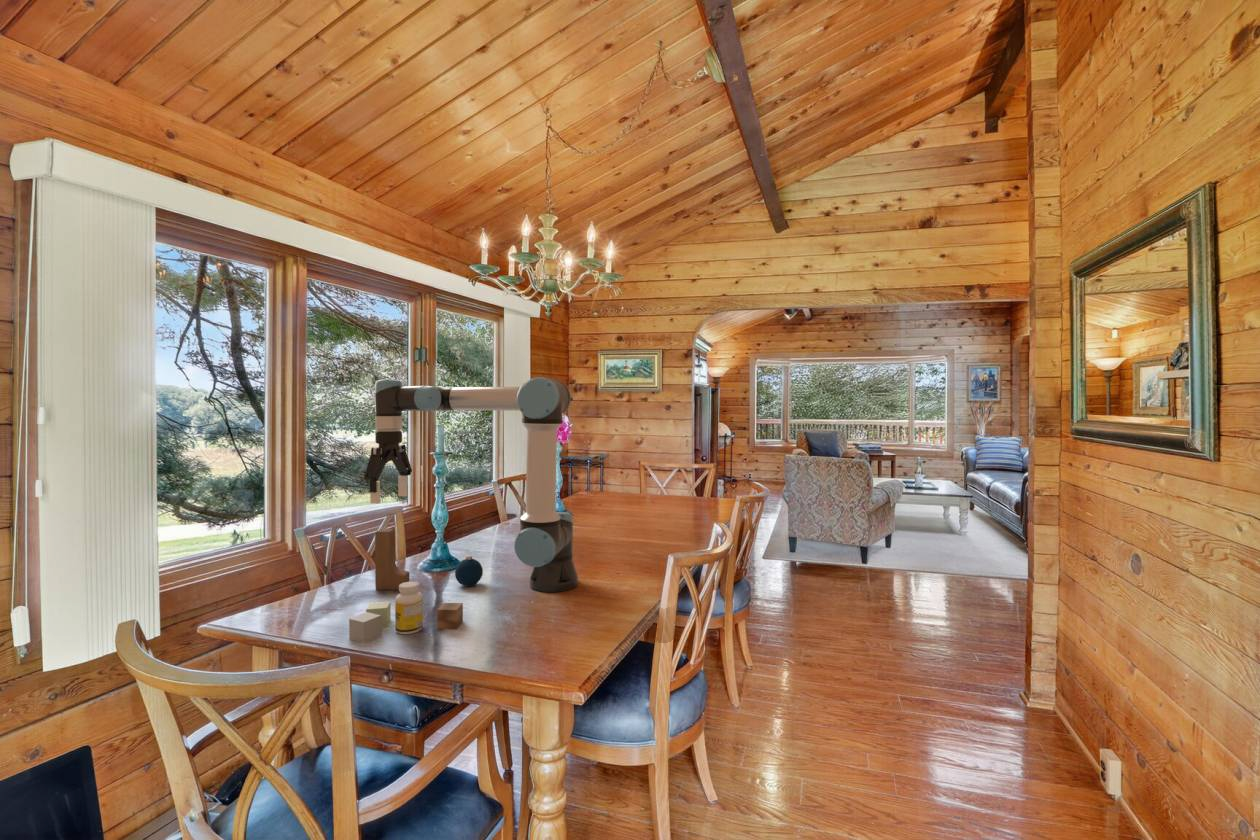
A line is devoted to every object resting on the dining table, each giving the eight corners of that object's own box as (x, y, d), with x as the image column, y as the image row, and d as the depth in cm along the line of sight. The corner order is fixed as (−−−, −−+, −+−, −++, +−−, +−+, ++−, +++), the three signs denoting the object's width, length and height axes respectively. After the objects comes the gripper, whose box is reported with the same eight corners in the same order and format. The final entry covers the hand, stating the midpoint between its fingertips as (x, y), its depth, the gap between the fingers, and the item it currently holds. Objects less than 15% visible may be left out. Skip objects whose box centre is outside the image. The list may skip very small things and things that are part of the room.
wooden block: (409, 585, 179) (409, 528, 178) (404, 590, 174) (404, 531, 174) (380, 585, 178) (380, 528, 178) (374, 590, 174) (374, 531, 173)
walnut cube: (462, 621, 149) (462, 603, 149) (456, 629, 144) (456, 609, 144) (443, 621, 149) (443, 602, 149) (437, 629, 144) (437, 609, 144)
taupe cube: (381, 635, 140) (381, 615, 140) (363, 643, 135) (363, 622, 135) (367, 631, 142) (366, 612, 142) (349, 639, 138) (349, 618, 138)
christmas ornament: (486, 586, 178) (486, 554, 178) (460, 591, 173) (459, 558, 173) (477, 579, 185) (477, 549, 184) (451, 584, 180) (451, 553, 180)
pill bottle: (400, 625, 146) (399, 580, 146) (425, 624, 147) (425, 580, 146) (391, 635, 140) (391, 588, 139) (418, 634, 140) (418, 588, 140)
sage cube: (390, 620, 150) (390, 601, 150) (387, 627, 145) (387, 607, 145) (370, 621, 149) (370, 602, 149) (366, 628, 144) (365, 609, 144)
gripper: (402, 428, 186) (402, 493, 187) (350, 432, 162) (350, 506, 163) (422, 428, 185) (423, 493, 185) (373, 432, 161) (374, 507, 161)
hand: (389, 499), depth 174 cm, fingers open, 13 cm apart
